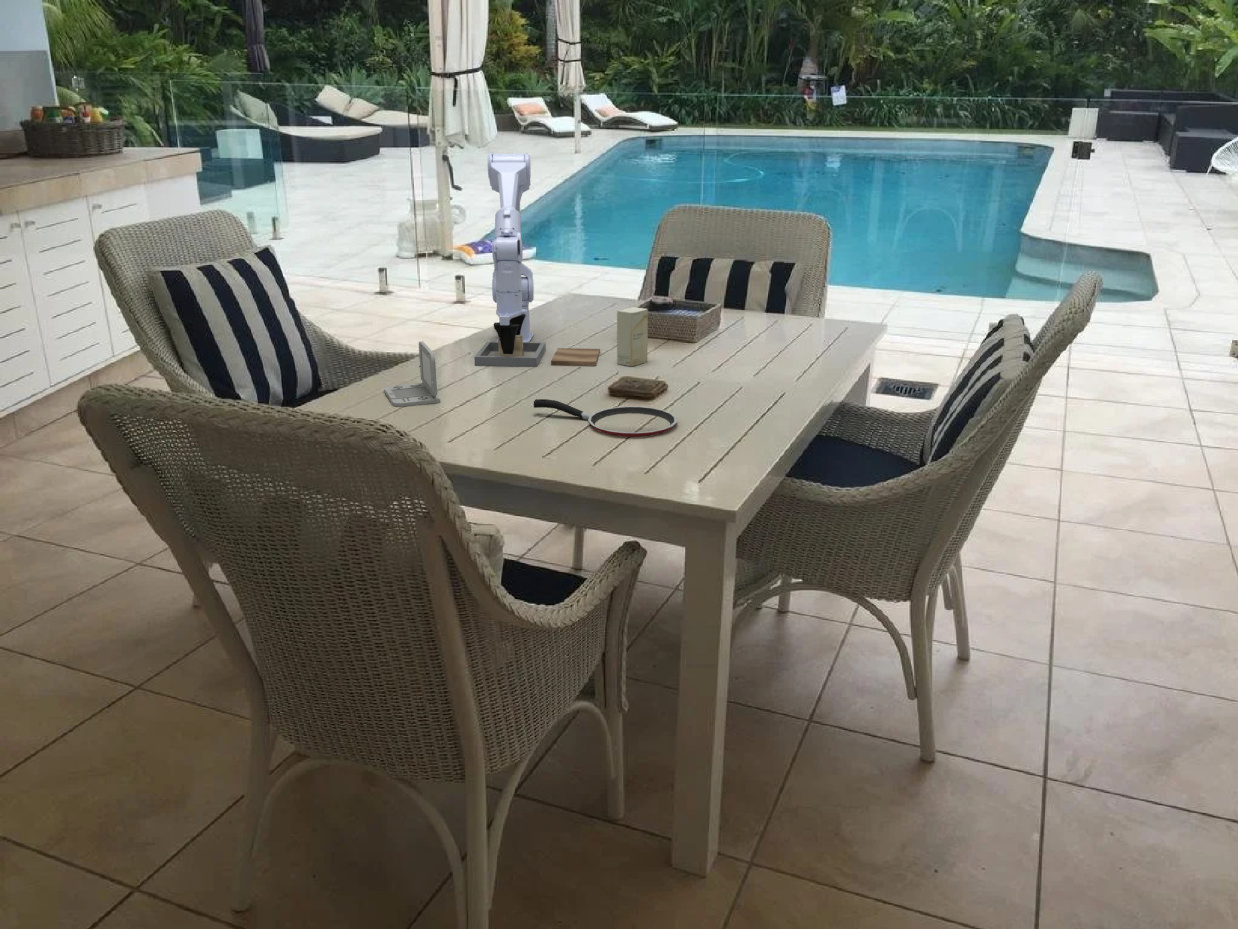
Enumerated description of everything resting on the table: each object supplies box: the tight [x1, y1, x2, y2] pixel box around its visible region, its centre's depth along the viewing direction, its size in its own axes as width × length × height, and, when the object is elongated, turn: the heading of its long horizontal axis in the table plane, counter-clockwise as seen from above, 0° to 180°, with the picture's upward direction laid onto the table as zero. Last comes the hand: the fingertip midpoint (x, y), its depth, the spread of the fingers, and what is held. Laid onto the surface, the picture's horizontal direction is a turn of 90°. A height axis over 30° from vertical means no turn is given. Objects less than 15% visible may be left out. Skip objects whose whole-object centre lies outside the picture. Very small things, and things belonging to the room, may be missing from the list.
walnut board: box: [550, 347, 601, 367], centre depth 241 cm, size 12×10×1 cm
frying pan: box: [533, 398, 678, 438], centre depth 197 cm, size 28×16×3 cm, turn 72°
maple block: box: [497, 335, 524, 357], centre depth 242 cm, size 4×5×5 cm
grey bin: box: [473, 340, 547, 368], centre depth 242 cm, size 15×14×2 cm
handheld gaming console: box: [383, 340, 441, 408], centre depth 211 cm, size 13×9×10 cm
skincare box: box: [616, 306, 649, 367], centre depth 236 cm, size 6×4×12 cm
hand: (510, 349), depth 242 cm, fingers open, 7 cm apart
